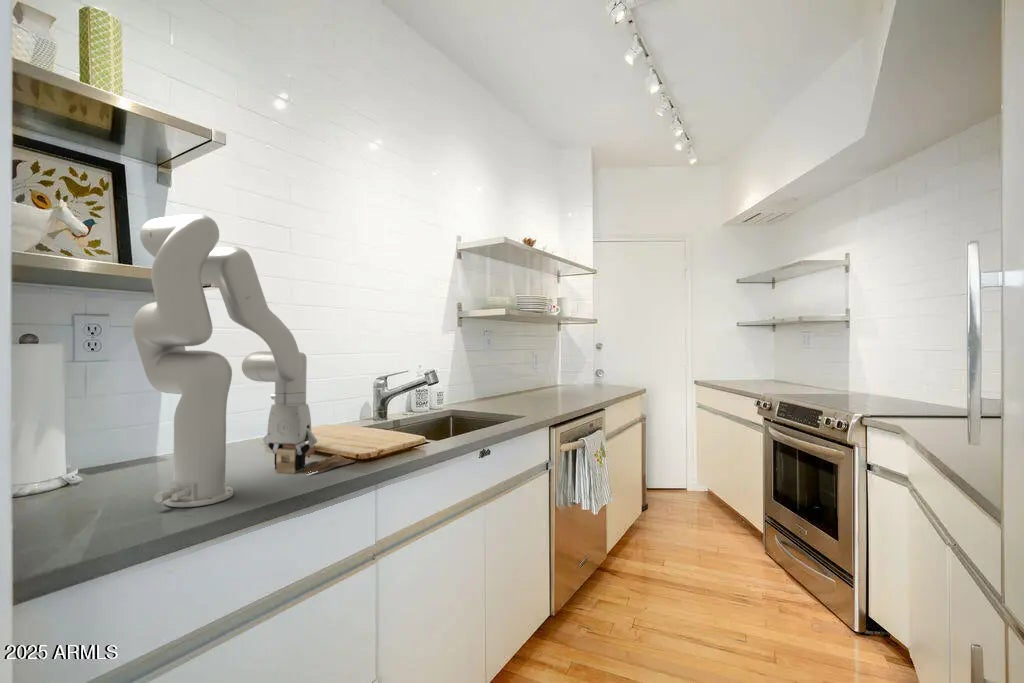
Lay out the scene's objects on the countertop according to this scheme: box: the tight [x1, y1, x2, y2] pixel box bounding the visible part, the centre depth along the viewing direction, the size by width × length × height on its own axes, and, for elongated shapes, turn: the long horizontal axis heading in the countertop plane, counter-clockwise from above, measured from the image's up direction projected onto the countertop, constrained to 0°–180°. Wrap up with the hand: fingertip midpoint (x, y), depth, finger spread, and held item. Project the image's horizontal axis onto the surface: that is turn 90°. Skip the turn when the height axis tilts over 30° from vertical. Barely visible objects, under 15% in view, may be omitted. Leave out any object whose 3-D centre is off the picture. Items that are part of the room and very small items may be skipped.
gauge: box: [275, 445, 316, 474], centre depth 136 cm, size 12×5×6 cm, turn 171°
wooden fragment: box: [303, 454, 357, 474], centre depth 140 cm, size 26×11×1 cm, turn 167°
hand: (289, 468), depth 132 cm, fingers closed on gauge, 5 cm apart
